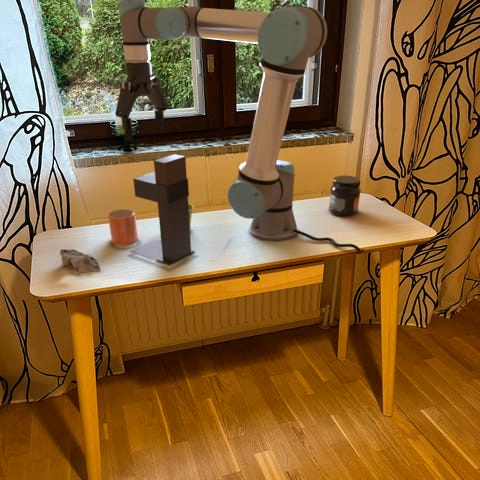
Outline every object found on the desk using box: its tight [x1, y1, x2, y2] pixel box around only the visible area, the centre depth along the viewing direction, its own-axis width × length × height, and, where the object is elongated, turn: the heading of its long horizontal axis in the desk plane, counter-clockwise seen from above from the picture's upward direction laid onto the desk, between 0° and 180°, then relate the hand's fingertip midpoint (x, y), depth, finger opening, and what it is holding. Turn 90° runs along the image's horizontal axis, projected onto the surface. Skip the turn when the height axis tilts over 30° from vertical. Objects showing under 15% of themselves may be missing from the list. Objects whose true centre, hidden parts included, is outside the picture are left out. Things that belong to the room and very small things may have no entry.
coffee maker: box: [128, 153, 195, 267], centre depth 144 cm, size 16×11×30 cm, turn 54°
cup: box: [107, 208, 139, 246], centre depth 157 cm, size 8×8×10 cm
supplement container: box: [328, 175, 362, 217], centre depth 180 cm, size 10×10×12 cm
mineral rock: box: [59, 248, 101, 274], centre depth 144 cm, size 15×8×4 cm, turn 36°
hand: (145, 136), depth 160 cm, fingers open, 13 cm apart
